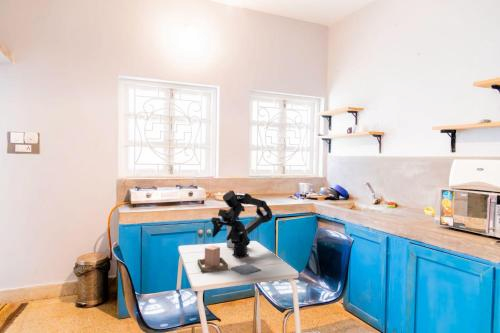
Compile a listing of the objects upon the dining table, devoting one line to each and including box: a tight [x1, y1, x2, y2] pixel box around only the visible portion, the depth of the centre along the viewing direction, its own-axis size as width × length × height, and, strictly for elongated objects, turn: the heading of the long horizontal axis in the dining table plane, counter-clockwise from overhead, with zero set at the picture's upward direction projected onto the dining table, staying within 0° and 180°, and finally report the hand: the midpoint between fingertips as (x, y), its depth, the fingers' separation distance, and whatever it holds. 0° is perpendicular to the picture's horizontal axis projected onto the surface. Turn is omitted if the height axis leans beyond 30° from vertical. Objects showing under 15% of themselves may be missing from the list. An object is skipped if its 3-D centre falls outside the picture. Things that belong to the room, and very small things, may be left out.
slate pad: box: [230, 263, 262, 276], centre depth 146 cm, size 10×10×1 cm
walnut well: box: [197, 256, 229, 273], centre depth 150 cm, size 12×12×2 cm
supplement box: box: [226, 226, 234, 249], centre depth 185 cm, size 7×7×13 cm
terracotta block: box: [204, 245, 221, 267], centre depth 150 cm, size 5×5×9 cm
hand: (219, 238), depth 154 cm, fingers open, 9 cm apart
